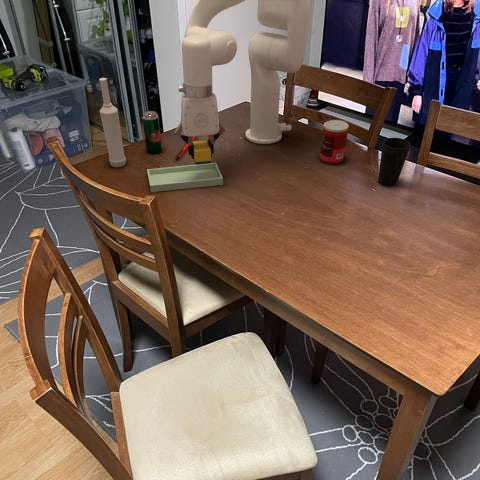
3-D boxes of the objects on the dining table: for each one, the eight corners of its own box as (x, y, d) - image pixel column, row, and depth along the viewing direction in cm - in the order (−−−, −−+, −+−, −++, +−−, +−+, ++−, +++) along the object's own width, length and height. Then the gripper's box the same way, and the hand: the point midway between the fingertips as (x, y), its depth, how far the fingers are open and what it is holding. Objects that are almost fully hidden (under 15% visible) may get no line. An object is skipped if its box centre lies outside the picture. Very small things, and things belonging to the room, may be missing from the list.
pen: (175, 160, 152) (174, 157, 152) (194, 136, 166) (194, 133, 165) (177, 161, 152) (177, 157, 151) (197, 136, 165) (197, 133, 165)
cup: (381, 173, 147) (390, 135, 138) (404, 181, 143) (415, 142, 135) (369, 182, 143) (378, 143, 134) (393, 191, 139) (403, 151, 131)
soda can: (153, 155, 155) (148, 118, 146) (143, 150, 157) (138, 113, 149) (165, 150, 157) (161, 113, 149) (155, 146, 160) (150, 109, 151)
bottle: (117, 169, 148) (102, 83, 130) (106, 164, 150) (89, 79, 133) (130, 163, 151) (116, 78, 133) (118, 158, 153) (103, 74, 136)
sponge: (207, 153, 142) (206, 140, 139) (211, 163, 137) (210, 149, 134) (192, 155, 141) (191, 141, 139) (195, 164, 136) (194, 151, 133)
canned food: (344, 155, 156) (350, 121, 148) (341, 166, 150) (347, 131, 143) (321, 152, 157) (325, 118, 150) (317, 162, 152) (321, 128, 144)
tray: (216, 168, 148) (216, 162, 147) (223, 184, 141) (222, 178, 140) (147, 175, 145) (147, 169, 143) (151, 192, 138) (150, 185, 136)
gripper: (168, 96, 122) (173, 164, 135) (232, 92, 125) (232, 159, 138) (164, 87, 127) (170, 153, 140) (226, 83, 130) (227, 148, 143)
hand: (201, 155), depth 139 cm, fingers closed on sponge, 4 cm apart
